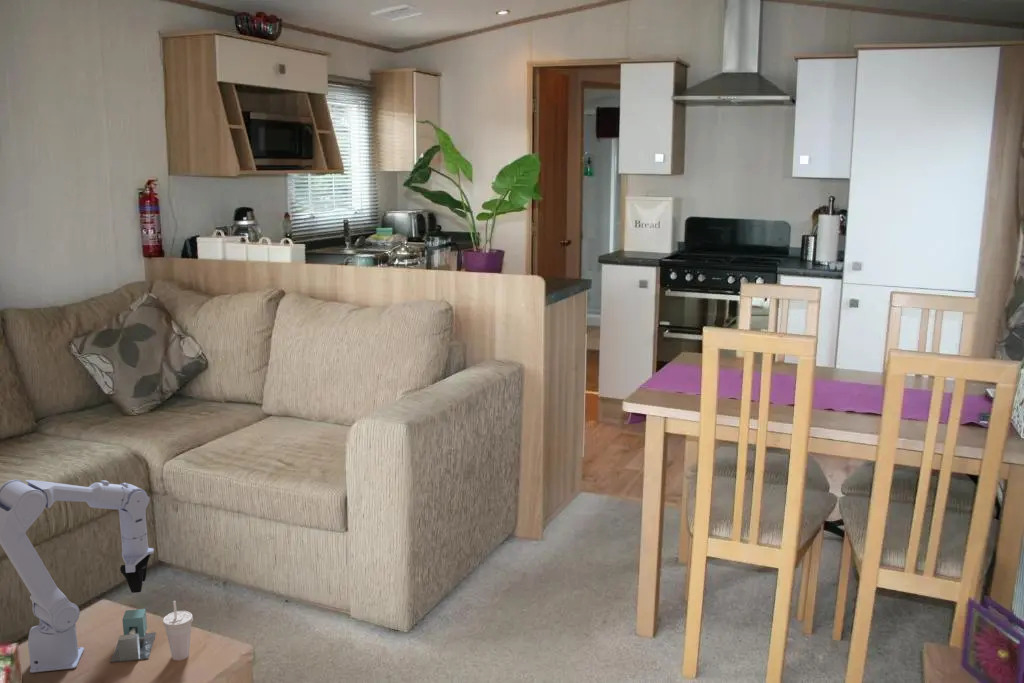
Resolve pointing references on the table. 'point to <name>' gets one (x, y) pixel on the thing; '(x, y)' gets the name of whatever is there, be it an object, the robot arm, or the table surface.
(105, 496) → the robot arm
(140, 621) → the teal block on rod
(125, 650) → the grey metal stand
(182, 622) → the smoothie
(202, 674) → the table surface
